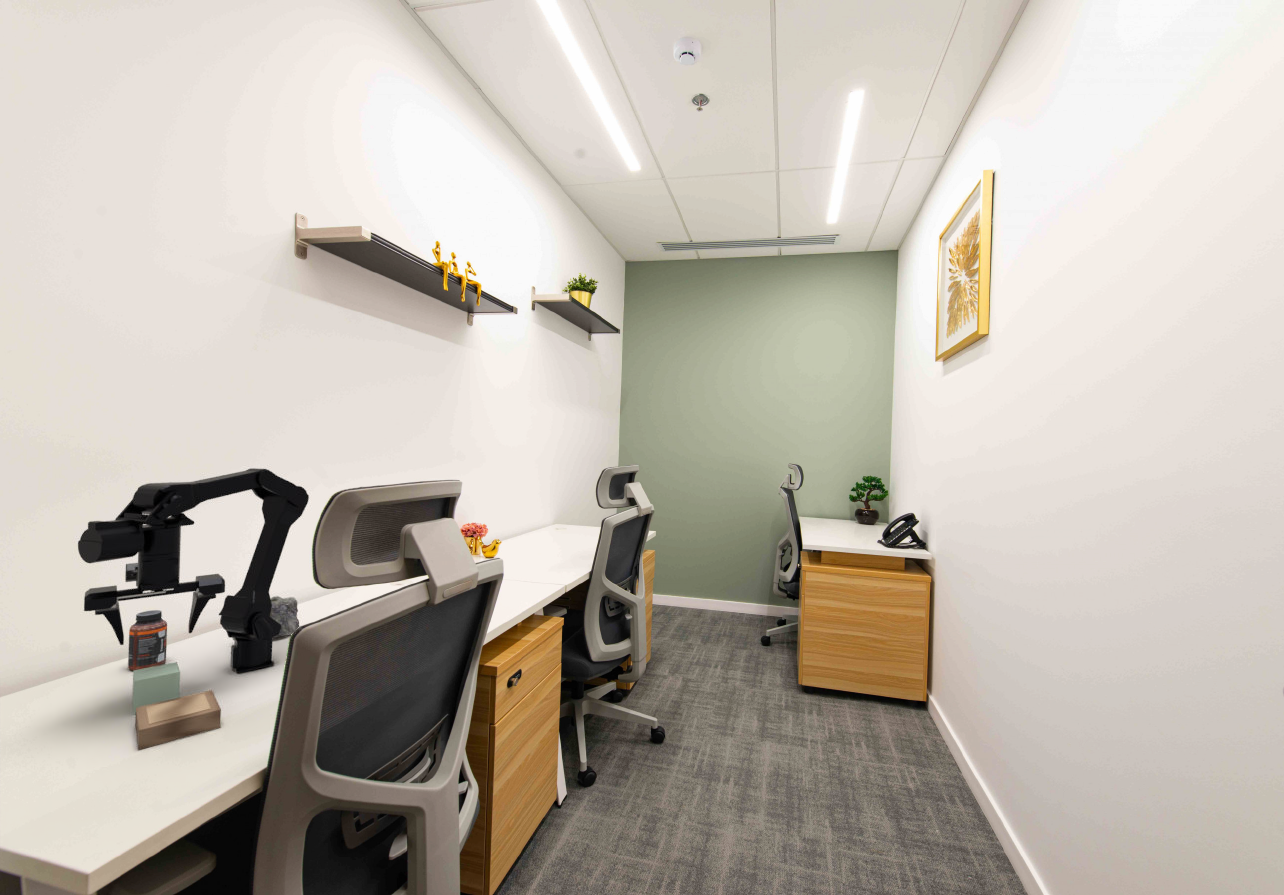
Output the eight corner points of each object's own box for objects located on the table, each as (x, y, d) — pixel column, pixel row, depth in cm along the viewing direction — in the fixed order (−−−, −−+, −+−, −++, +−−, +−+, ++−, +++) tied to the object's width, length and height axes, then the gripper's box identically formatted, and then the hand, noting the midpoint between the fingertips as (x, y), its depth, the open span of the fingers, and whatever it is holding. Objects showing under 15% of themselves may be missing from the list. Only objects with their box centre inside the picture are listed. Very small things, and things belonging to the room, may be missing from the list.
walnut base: (211, 706, 97) (211, 689, 97) (220, 727, 90) (220, 708, 90) (135, 725, 90) (135, 706, 90) (138, 749, 83) (139, 729, 83)
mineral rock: (230, 648, 124) (231, 605, 124) (239, 634, 134) (241, 594, 134) (296, 641, 130) (297, 599, 130) (300, 627, 140) (302, 589, 140)
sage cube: (175, 693, 102) (176, 661, 102) (179, 704, 97) (180, 671, 97) (132, 703, 97) (133, 670, 97) (133, 715, 93) (134, 680, 93)
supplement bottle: (172, 663, 115) (173, 610, 115) (136, 673, 109) (138, 618, 110) (157, 658, 117) (159, 606, 118) (121, 668, 112) (123, 614, 112)
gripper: (217, 541, 110) (215, 617, 110) (87, 551, 97) (84, 638, 97) (226, 549, 102) (224, 631, 102) (85, 561, 89) (82, 656, 89)
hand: (157, 638), depth 98 cm, fingers open, 9 cm apart
